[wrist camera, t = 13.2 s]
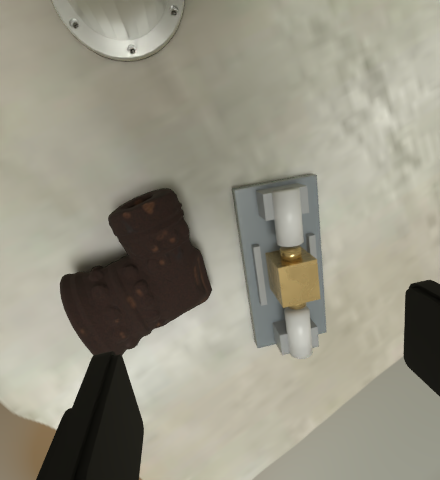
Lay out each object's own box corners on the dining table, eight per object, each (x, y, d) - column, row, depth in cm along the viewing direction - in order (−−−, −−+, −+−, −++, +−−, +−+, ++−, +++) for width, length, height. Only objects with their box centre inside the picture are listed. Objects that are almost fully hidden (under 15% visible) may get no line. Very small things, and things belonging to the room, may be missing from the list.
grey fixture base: (232, 188, 37) (242, 196, 31) (311, 173, 37) (335, 178, 32) (254, 341, 43) (267, 370, 38) (321, 326, 44) (343, 352, 38)
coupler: (263, 244, 38) (276, 258, 33) (298, 236, 38) (316, 249, 33) (271, 296, 40) (284, 317, 35) (304, 289, 40) (321, 308, 36)
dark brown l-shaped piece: (181, 189, 28) (22, 264, 26) (236, 312, 34) (110, 384, 31) (165, 180, 37) (45, 235, 35) (210, 279, 43) (111, 333, 40)
